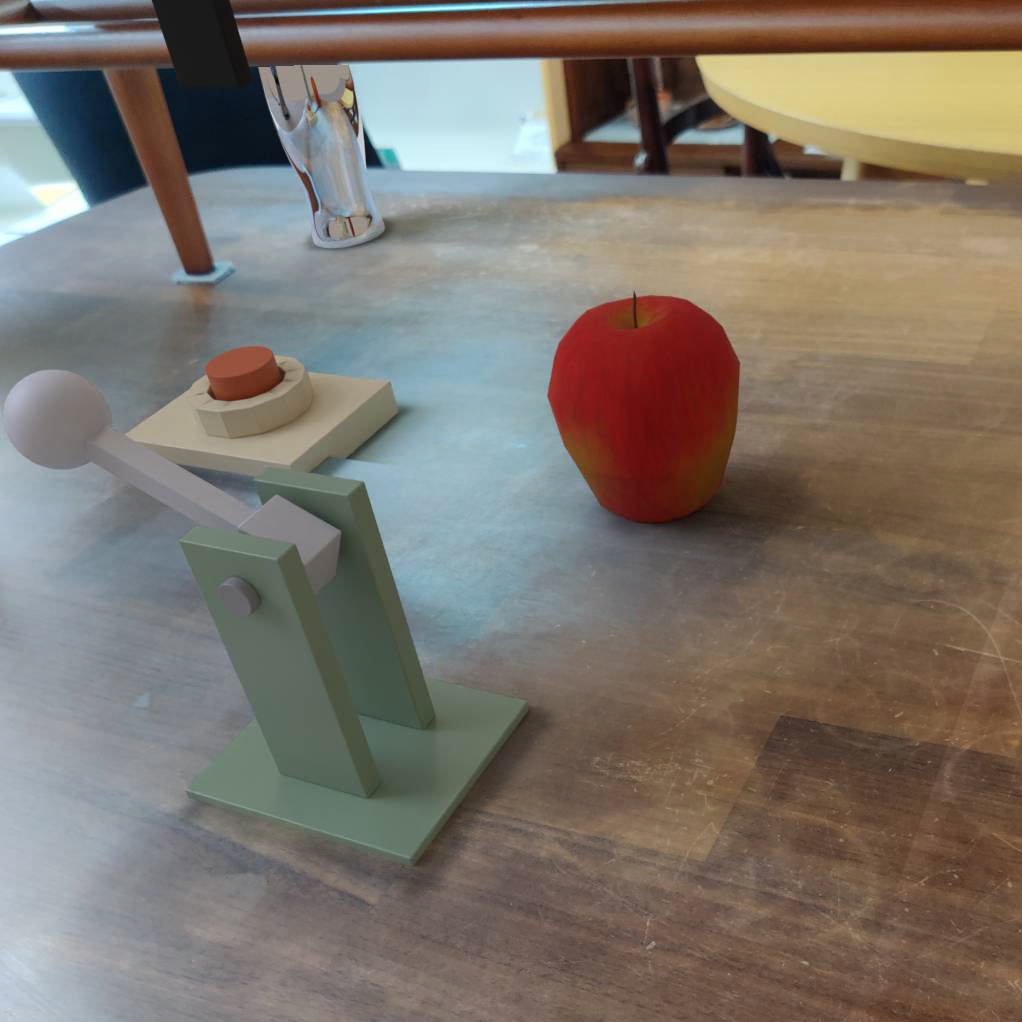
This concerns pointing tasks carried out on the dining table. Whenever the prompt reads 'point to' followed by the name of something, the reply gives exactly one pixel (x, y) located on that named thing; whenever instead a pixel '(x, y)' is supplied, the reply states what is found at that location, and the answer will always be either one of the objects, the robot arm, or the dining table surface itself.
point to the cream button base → (270, 422)
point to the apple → (647, 404)
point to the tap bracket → (336, 686)
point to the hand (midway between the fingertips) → (78, 152)
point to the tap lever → (150, 467)
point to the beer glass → (325, 149)
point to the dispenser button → (243, 373)
